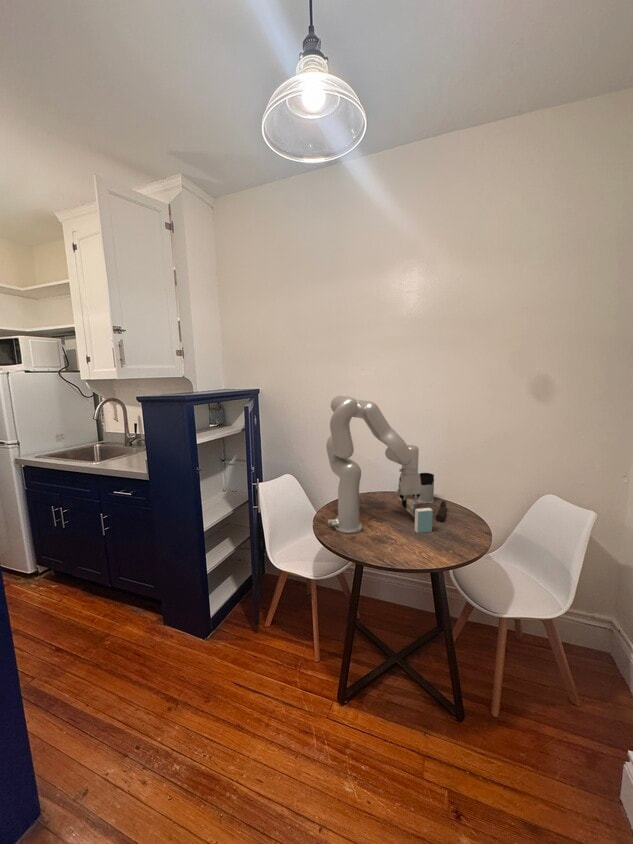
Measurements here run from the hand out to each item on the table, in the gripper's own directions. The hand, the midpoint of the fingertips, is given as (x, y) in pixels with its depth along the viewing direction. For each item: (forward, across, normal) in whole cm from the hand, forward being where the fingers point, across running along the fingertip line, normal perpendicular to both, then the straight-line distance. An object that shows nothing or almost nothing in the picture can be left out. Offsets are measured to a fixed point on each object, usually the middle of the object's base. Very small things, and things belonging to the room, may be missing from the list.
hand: (408, 506), depth 157 cm
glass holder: (+5, +16, +19) cm, 26 cm away
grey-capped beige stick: (+1, 0, 0) cm, 1 cm away
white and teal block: (+5, 0, -15) cm, 16 cm away
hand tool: (+6, +17, 0) cm, 18 cm away
